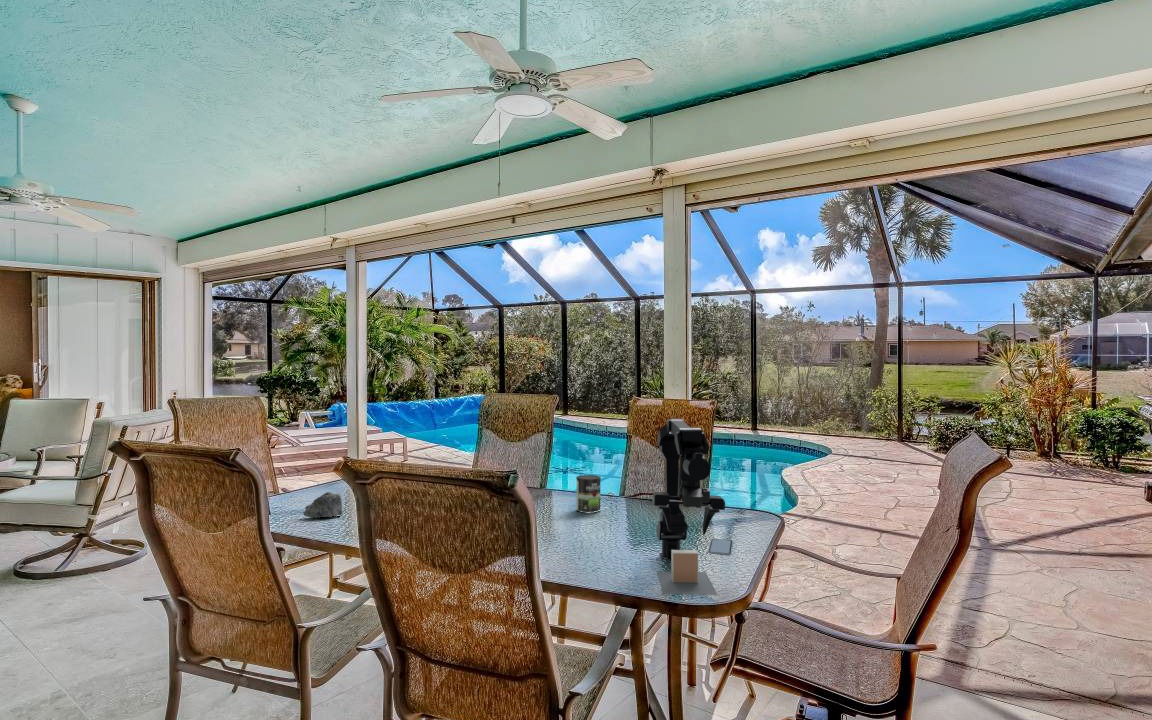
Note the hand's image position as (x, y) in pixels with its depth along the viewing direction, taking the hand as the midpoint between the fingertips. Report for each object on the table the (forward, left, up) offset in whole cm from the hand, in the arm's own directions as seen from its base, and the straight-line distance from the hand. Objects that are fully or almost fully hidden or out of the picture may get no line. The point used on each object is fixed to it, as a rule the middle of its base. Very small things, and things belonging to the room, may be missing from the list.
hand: (686, 533), depth 155 cm
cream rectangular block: (-4, 0, -14) cm, 15 cm away
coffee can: (-86, -28, -16) cm, 92 cm away
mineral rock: (-70, -133, -16) cm, 151 cm away
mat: (-3, 0, -15) cm, 16 cm away
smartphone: (-38, +17, -16) cm, 45 cm away
